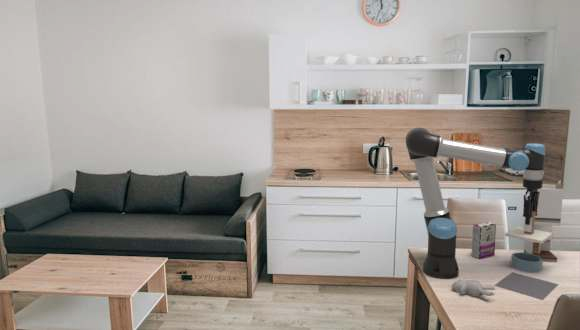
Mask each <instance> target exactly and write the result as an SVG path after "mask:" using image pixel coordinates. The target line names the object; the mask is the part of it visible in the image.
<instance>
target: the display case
mask: <svg viewBox="0 0 580 330" xmlns="http://www.w3.org/2000/svg"><path fill="white" fill-rule="evenodd" d="M537 190H538V192H540V194H539V199H538V208H537V213H536V214H538V215H537V216H535V224H534V230H539V231H544V232H549V233H553V232H552V231H553V226H559V227H560V226H561V221H562V220H561V218H562V209H563V208H562V207H563V198H564V197H563V196H564V189H563V188H556V185H555V184H542V188H541V189H537ZM551 242H552V237H550V238H549V239H548V240H546V241H545V242H543V243H542V244H541V243H536V242H532V241H527V240H523V243H524V244H523V253H530V254H534V255H537V256H539V257H541V258H542V260H543V261H542V262H548V263H557V262H558V257H557V256H555V254H554V253H552V252H551Z"/></svg>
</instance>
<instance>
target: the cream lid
mask: <svg viewBox="0 0 580 330" xmlns="http://www.w3.org/2000/svg"><path fill="white" fill-rule="evenodd" d="M534 224H535V211H532V227H531V232H527V231H524V226H515V227H514V228H512V229H510V230H508V231H507V232H505V233H504V236H505V237H509V238H513V239H518V240H523V241H524V240H527V241H532V242H536V243H541V244H542V243H543V242H545V241H546V240H548V239H549V238H550V237H551V238H552V237H553V235H554V232H552V233H549V232H544V231H539V230H534Z"/></svg>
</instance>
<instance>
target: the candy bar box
mask: <svg viewBox="0 0 580 330" xmlns="http://www.w3.org/2000/svg"><path fill="white" fill-rule="evenodd" d="M496 230H497V223H495V222H493V221H484V222H483V221H482V222H480V223H479V222H478V223H475V224H474V223H473V224H472V238H471V239H472V242H471V244H472V245H471V257H473V258H475V259H478V260H483V259H485V258H489V257H492V256H493V257H494V256H495V250H496V234H497V233H496Z"/></svg>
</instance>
